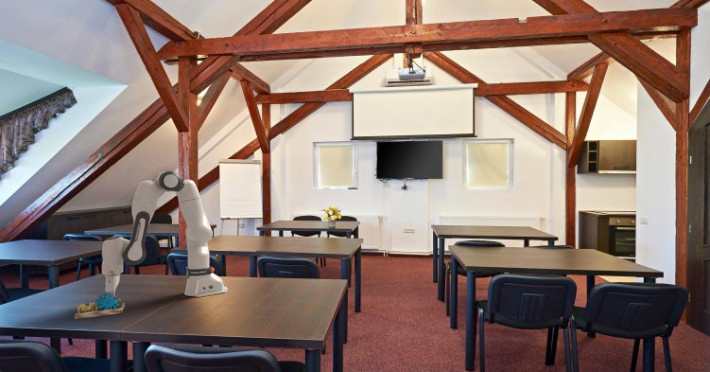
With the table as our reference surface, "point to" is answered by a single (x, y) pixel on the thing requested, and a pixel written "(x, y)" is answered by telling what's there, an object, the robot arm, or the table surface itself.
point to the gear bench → (100, 312)
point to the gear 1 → (87, 307)
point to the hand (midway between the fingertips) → (112, 297)
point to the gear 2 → (107, 302)
